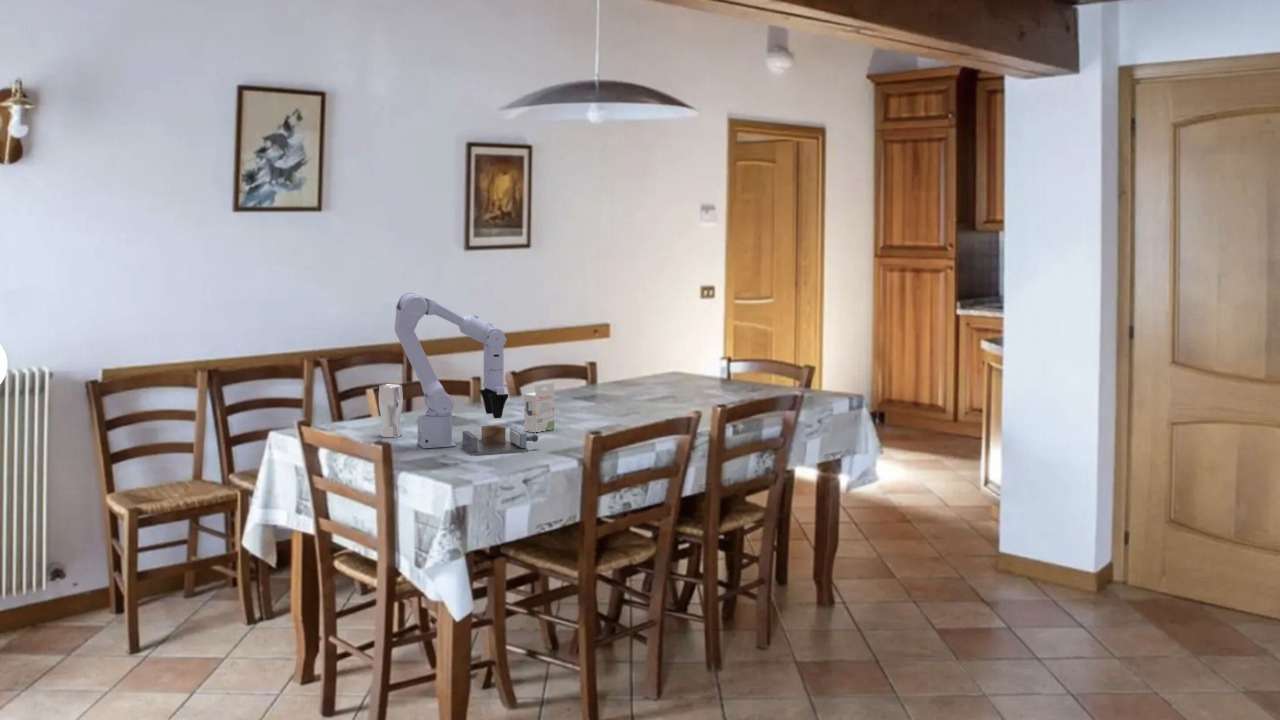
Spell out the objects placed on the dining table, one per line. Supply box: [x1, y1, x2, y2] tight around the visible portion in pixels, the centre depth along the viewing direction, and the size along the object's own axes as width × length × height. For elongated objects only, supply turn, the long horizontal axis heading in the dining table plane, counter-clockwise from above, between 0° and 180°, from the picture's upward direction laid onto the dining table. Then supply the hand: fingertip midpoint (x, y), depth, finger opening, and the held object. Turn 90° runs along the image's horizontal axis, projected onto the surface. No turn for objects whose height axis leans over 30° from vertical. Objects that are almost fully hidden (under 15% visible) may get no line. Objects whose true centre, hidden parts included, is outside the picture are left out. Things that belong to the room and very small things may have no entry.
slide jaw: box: [509, 426, 539, 448], centre depth 323 cm, size 6×10×4 cm, turn 24°
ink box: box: [523, 382, 555, 434], centre depth 348 cm, size 9×5×15 cm, turn 141°
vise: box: [460, 430, 529, 456], centre depth 319 cm, size 16×12×5 cm
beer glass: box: [378, 383, 404, 438], centre depth 336 cm, size 7×7×15 cm
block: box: [481, 424, 507, 443], centre depth 331 cm, size 6×4×4 cm, turn 114°
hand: (493, 415), depth 330 cm, fingers open, 7 cm apart
